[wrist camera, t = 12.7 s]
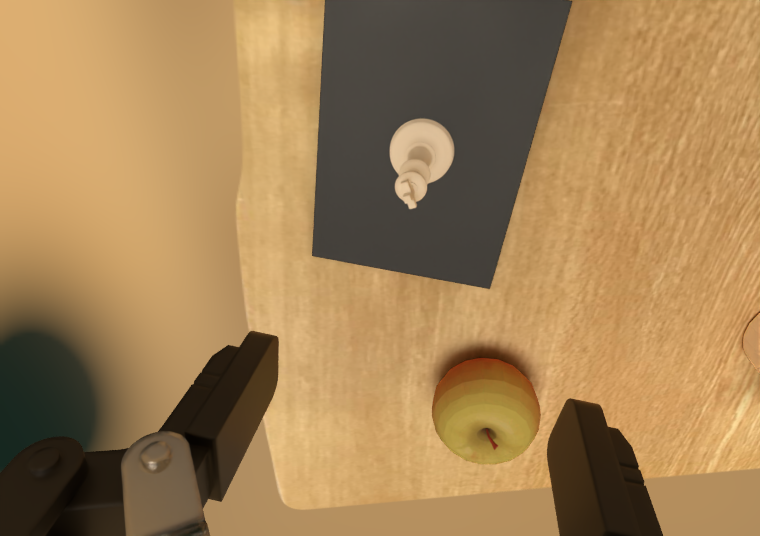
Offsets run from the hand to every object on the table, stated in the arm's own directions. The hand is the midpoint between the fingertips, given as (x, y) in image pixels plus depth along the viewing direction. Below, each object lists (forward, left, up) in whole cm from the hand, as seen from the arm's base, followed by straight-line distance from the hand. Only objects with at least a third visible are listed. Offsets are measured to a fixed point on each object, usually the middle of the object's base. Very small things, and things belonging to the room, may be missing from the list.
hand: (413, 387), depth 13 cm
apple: (+23, +8, -27) cm, 36 cm away
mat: (+1, -2, -27) cm, 27 cm away
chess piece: (+1, -2, -26) cm, 26 cm away
